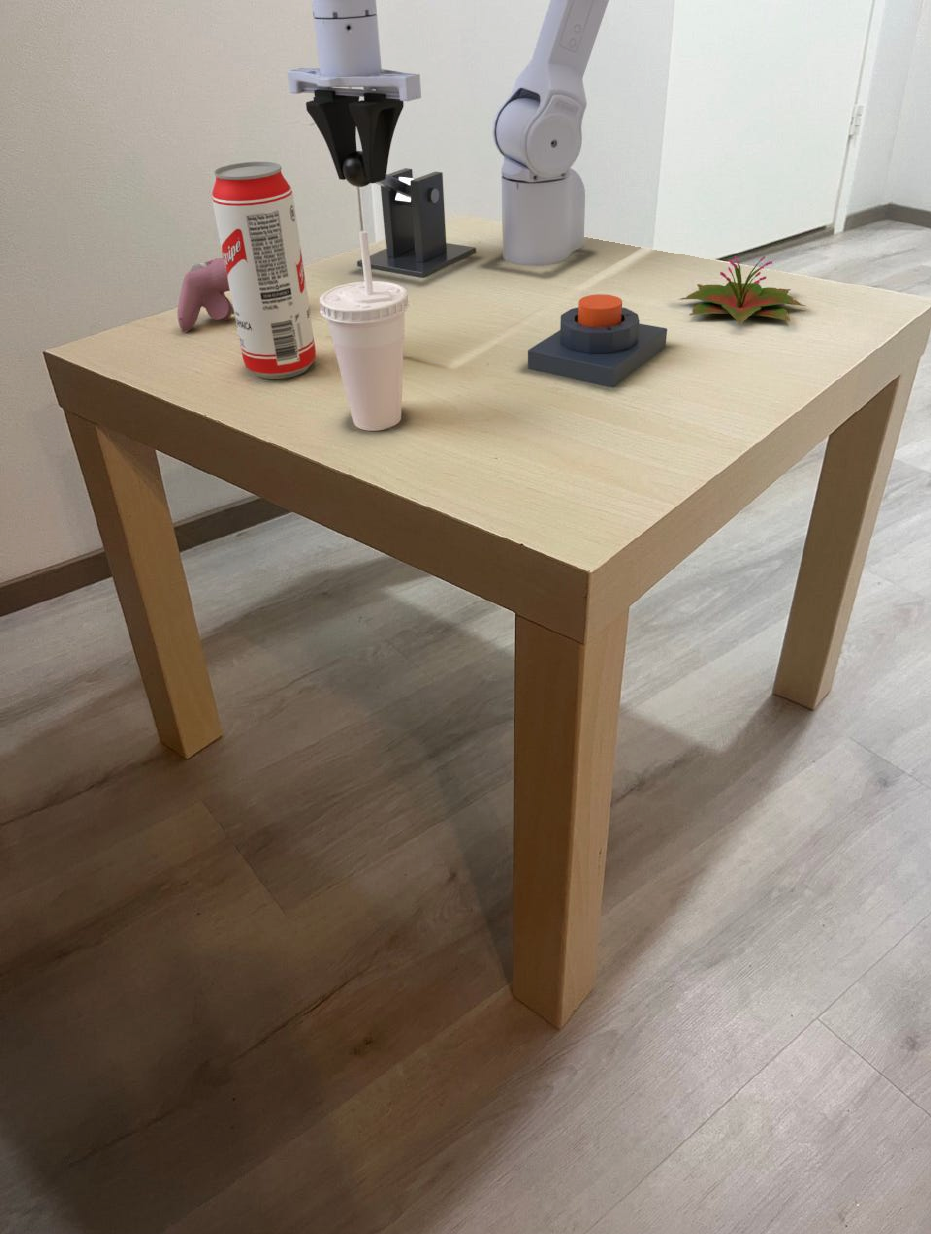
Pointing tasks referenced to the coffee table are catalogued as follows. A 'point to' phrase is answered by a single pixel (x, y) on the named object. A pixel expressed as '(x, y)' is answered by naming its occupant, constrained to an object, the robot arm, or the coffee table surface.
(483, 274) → the coffee table surface
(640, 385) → the coffee table surface
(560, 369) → the button box
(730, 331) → the coffee table surface
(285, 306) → the beer can
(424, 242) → the bracket
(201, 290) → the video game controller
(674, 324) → the coffee table surface
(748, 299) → the lily flower
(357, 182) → the lever
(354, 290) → the smoothie
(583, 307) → the button
